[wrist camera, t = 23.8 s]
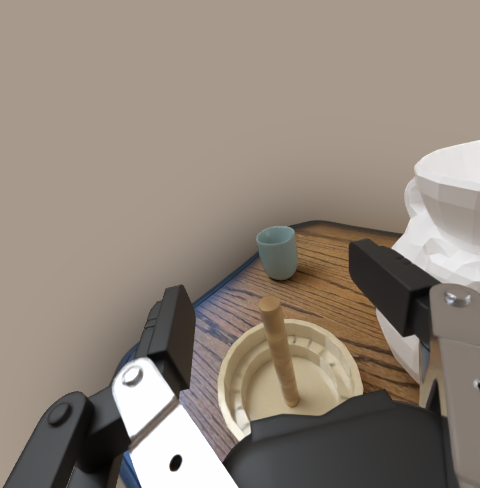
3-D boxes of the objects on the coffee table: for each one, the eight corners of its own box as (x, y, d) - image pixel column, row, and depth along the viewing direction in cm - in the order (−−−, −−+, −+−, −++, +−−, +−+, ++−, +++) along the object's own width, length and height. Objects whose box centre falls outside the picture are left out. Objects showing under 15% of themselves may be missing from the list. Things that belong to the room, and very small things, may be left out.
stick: (289, 411, 27) (265, 314, 20) (280, 395, 29) (254, 301, 21) (303, 401, 28) (284, 303, 20) (292, 386, 29) (272, 292, 22)
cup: (292, 288, 46) (285, 246, 42) (258, 281, 51) (249, 242, 46) (305, 266, 52) (300, 226, 47) (273, 261, 56) (266, 224, 51)
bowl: (272, 536, 20) (259, 514, 17) (213, 383, 33) (201, 357, 30) (395, 425, 24) (401, 394, 22) (300, 329, 37) (296, 302, 35)
